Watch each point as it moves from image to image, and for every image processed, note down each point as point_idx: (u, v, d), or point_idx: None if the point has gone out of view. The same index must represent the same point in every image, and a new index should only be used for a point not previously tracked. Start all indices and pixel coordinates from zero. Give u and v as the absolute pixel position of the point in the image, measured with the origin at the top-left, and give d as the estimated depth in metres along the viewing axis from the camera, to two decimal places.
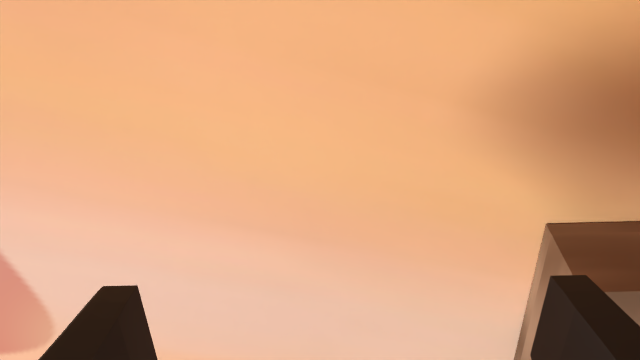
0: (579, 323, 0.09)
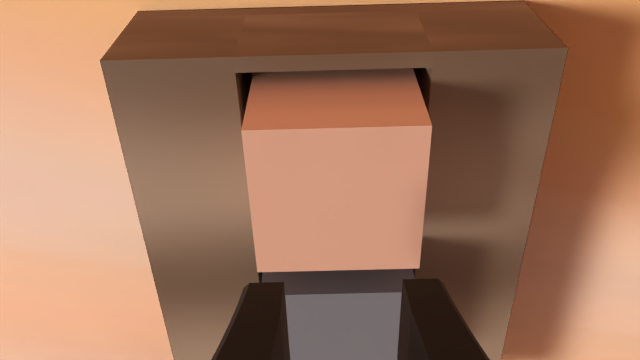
0: (413, 327, 0.09)
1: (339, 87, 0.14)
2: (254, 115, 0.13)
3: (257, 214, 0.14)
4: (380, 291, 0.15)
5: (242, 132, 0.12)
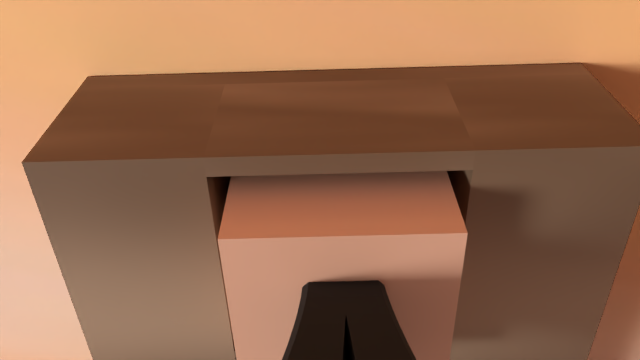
0: (347, 329, 0.09)
1: None
2: (235, 214, 0.10)
3: (241, 333, 0.11)
4: None
5: (219, 241, 0.10)
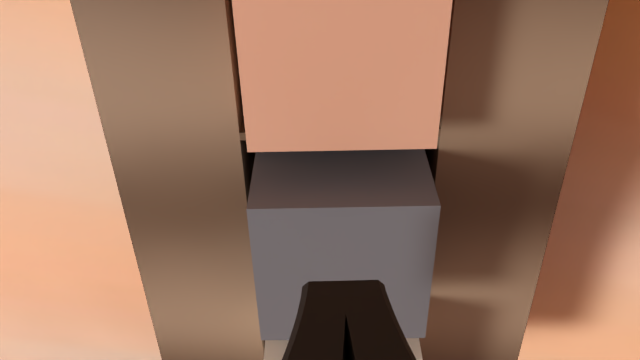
0: (347, 329, 0.09)
1: None
2: None
3: (247, 74, 0.12)
4: (394, 205, 0.12)
5: None
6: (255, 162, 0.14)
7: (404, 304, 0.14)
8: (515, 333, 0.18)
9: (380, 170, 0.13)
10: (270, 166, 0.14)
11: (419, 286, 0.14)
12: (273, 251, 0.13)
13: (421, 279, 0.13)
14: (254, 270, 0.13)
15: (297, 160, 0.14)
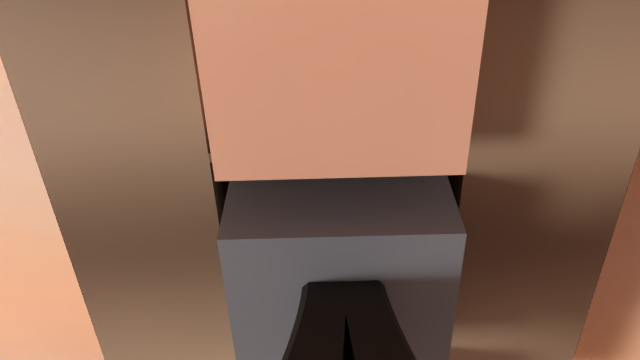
0: (347, 328, 0.09)
1: None
2: None
3: (210, 77, 0.09)
4: (407, 232, 0.10)
5: None
6: None
7: (419, 353, 0.11)
8: None
9: (387, 187, 0.11)
10: (249, 183, 0.11)
11: (438, 331, 0.11)
12: (253, 290, 0.10)
13: (440, 323, 0.11)
14: (230, 314, 0.10)
15: None
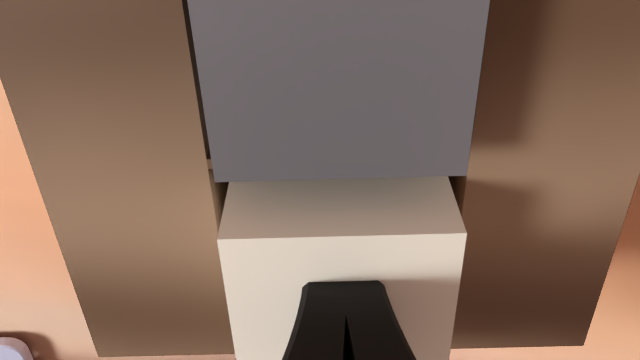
0: (347, 328, 0.09)
1: None
2: None
3: None
4: None
5: None
6: None
7: (436, 111, 0.09)
8: (603, 244, 0.12)
9: None
10: None
11: (461, 75, 0.08)
12: (224, 2, 0.08)
13: (464, 61, 0.08)
14: (196, 44, 0.08)
15: None
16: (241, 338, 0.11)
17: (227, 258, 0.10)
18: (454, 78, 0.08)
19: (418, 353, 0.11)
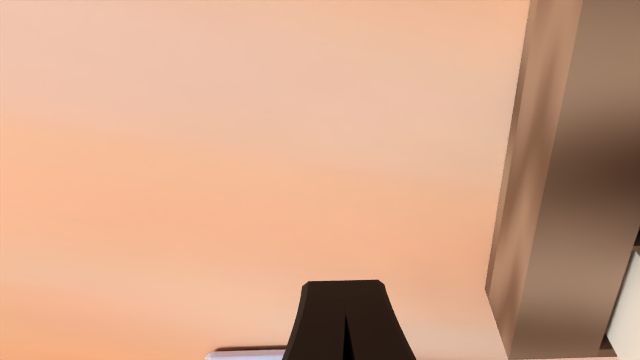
0: (347, 328, 0.09)
1: None
2: None
3: None
4: None
5: None
6: None
7: None
8: None
9: None
10: None
11: None
12: None
13: None
14: None
15: None
16: None
17: None
18: None
19: None
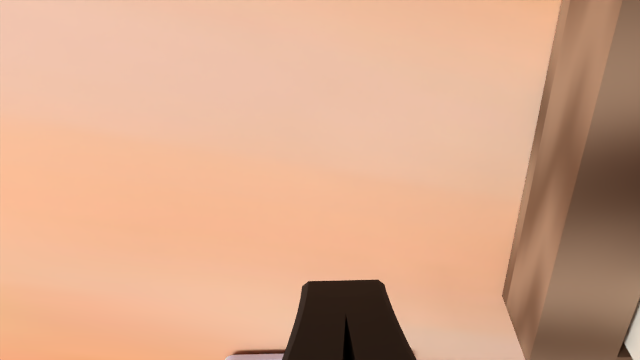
0: (347, 328, 0.09)
1: None
2: None
3: None
4: None
5: None
6: None
7: None
8: None
9: None
10: None
11: None
12: None
13: None
14: None
15: None
16: None
17: None
18: None
19: None
